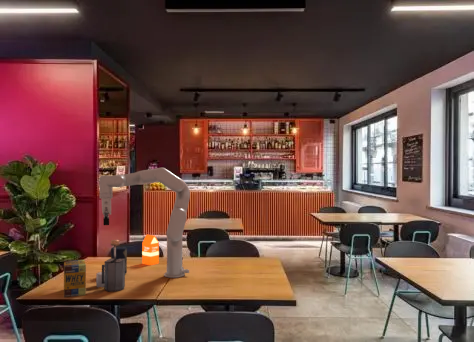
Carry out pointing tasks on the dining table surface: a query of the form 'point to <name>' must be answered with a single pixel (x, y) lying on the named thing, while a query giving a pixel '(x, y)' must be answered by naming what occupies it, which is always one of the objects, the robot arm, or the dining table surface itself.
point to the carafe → (114, 275)
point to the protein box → (74, 278)
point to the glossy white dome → (99, 279)
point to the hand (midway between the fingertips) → (106, 224)
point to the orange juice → (150, 250)
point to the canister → (120, 254)
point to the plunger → (114, 243)
